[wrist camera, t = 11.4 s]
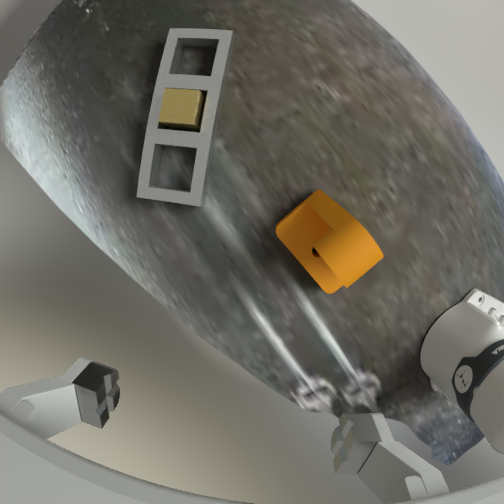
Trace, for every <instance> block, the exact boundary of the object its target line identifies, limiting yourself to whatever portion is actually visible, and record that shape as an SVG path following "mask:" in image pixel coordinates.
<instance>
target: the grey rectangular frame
mask: <svg viewBox="0 0 504 504" xmlns="http://www.w3.org/2000/svg"><path fill="white" fill-rule="evenodd" d="M234 44H235V37H234V33H233V31H229V30H214V29H170V30H169V34H168V37H167V41H166V44H165V48H164V52H163V56H162V60H161V64H160V68H159V72H158V76H157V80H156V85H155V89H154V94H153V98H152V103H151V108H150V113H149V118H148V124H147V129H146V135H145V141H144V147H143V153H142V159H141V166H140V173H139V181H138V189H137V197H138V198H146V199H153V200H160V201H167V202H174V203H180V204H187V205H193V206H203V205H205V202H206V195H207V189H208V182H209V176H210V170H211V164H212V158H213V152H214V146H215V140H216V134H217V129H218V123H219V118H220V113H221V107H222V102H223V97H224V92H225V87H226V82H227V77H228V72H229V67H230V62H231V58H232V53H233V49H234ZM184 46H188V47H210V48H217V51H216V55H215V60H214V64H213V69H212V74H211V76H198V75H181V74H177V72H178V68H179V64H180V60H181V55H182V51H183V48H184ZM165 88H171V89H189V90H199V91H200V92H201V93H202V94H203V96H207V98H206V103H205V108H204V113H203V118H202V124H201V129H200V133H198V132H189V131H178V130H167V129H166V125H164V124H162V123H160V122H158V121H159V116H160V110H161V105H162V100H163V96H164V91H165ZM163 146H169V147H179V148H188V149H197V152H196V158H195V164H194V171H193V177H192V184H191V191H188V190H181V189H174V188H167V187H159V186H157V181H158V174H159V167H160V161H161V154H162V148H163Z"/></svg>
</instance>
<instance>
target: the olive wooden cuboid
mask: <svg viewBox="0 0 504 504" xmlns="http://www.w3.org/2000/svg"><path fill="white" fill-rule="evenodd" d="M205 103H206V98H205V97H204V96H203V94H202V93H201V92H200V91H199V90H189V89H171V88H165V91H164V96H163V100H162V105H161V110H160V116H159V121H158V122H160V123H162V124H164V125H166V126H168V127H170V128H178V129H188V130H198V131H200V129H201V124H202V118H203V113H204V108H205Z"/></svg>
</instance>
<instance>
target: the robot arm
mask: <svg viewBox="0 0 504 504" xmlns="http://www.w3.org/2000/svg"><path fill="white" fill-rule="evenodd" d="M479 298H480V299H479ZM420 359H421V366H422V368H423V370H424V372H425V373H426V374H427V375H428V376H429V378H430V383H431V387H432V389H433V390H434V391H441V392H442V393H443V394H444V395H445V396H446V397H447V399H448V400H449V401H450V402H451V403H452V404H453V405H454V406H455V407H460V408H461V410H462V412H463V413H464V415H465V416H467V417H468V418H469V419H470V420H471V421H473V422H475V423H476V424H477V426H478V427H479V429H480V430H481V431H482V433H483V434H484V436H485V437H486V438H487V440H488V442H489V443H490V444H491V446H492V447H493V449H494V450H496V451H497V452H499V453H502V454H504V303H503V302H501V301H499V300H498V299H496V298H494V297H492V296H490V295H488V294H486V293H484V292H482V291H480V290H478V289H473V290H471V291H470V292H469V293H468V294H467V296H466V297H465V298H464V299H463V300H462V301H461V302H460V303H458V304H457V305H455V306H453V307H452V308H450V309H449V310H447V311H446V312H445V313H444V314H443V315H441V316H440V317H439V318H438V320H437V321H436V322H435V323H434V324H433V326H432V327H431V329H430V330H429V332H428V334H427V336H426V338H425V340H424V343H423V346H422V349H421V357H420ZM118 379H119V374H118V371H117V370H116V369H114V368H111V367H108V366H106V365H103V364H100V363H98V362H95V361H91V360H89V359H87V358H84V357H81V358H79V359H78V360H77V361H76V362H75V363H74V364H73V365H72V366H71V367H70V368H69V369H68V370H67V371H66V372H65V373H64V374H63V375H62V376H61V377H60V378H58V377H53V378H48V379H45V380H40V381H36V382H31V383H27V384H23V385H18V386H14V387H9V388H6V389H4V391H2V392H1V393H0V504H253V503H245V502H238V501H231V500H225V499H219V498H214V497H208V496H203V495H198V494H194V493H189V492H185V491H181V490H177V489H173V488H169V487H166V486H162V485H158V484H155V483H152V482H148V481H145V480H141V479H139V478H136V477H133V476H130V475H127V474H124V473H121V472H119V471H116V470H113V469H111V468H108V467H105V466H103V465H100V464H98V463H96V462H93V461H91V460H88V459H86V458H84V457H82V456H79V455H77V454H75V453H73V452H71V451H69V450H66V449H64V448H62V447H60V446H58V445H56V444H54V443H52V442H50V441H49V440H47V438H49V437H52V436H54V435H56V434H58V433H60V432H62V431H64V430H67V429H69V428H71V427H73V426H75V425H77V424H79V423H81V422H82V421H83V422H85V423H88V424H90V425H93V426H96V427H98V428H101V429H102V428H103V426H104V425H105V423H106V422H107V420H108V419H109V412H111V411H114V410H115V408H116V406H117V404H118V401H119V397H120V388H119V386H118V385H117V383H116V382H117V381H118ZM339 422H340V426H338V427H337V428H335V430H334V432H333V434H332V439H331V450H332V452H333V453H334V454H335V455H336V456H335V458H334V460H333V462H334V467H335V473H337V474H357V475H358V476H359V478H360V479H361V480H362V481H363V482H364V483H365V484H366V485H367V486H368V488H370V490H371V491H372V492H373V493H374V494H375V495H376V496H377V497H378V498H379V499H380V501H381V502H382V503H383V504H504V476H502V477H500V478H496V479H494V480H491V481H488V482H485V483H482V484H478V485H475V486H471V487H468V488H464V489H461V490H457V491H453V492H450V491H449V489H448V487H447V485H446V483H445V480H444V478H443V476H442V474H441V472H440V471H439V470H438V469H436V468H435V467H433V466H432V465H430V464H429V463H427V462H426V461H425V460H423V459H422V458H420V457H419V456H418V455H416V454H415V453H413V452H412V451H410V450H409V449H408V448H406V447H405V446H404V445H402V444H401V443H399V442H398V441H397V442H395V441H394V439H393V437H392V434H391V432H390V429H389V427H388V425H387V423H386V420H385V418H384V415H383V414H382V413H369V414H368V413H345V412H344V413H343V414H342V415H341V417H340V419H339Z"/></svg>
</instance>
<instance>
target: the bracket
mask: <svg viewBox="0 0 504 504" xmlns="http://www.w3.org/2000/svg"><path fill="white" fill-rule="evenodd" d="M275 229H276V234H277V236H278V238H279V239H280V240H281V241H282V242H283V243H284V245H285V246H286V247H287V248H288V249H289V250H290V252H291V253H292V254H293V255H294V256H295V257H296V259H297V260H298V261H299V262H300V263H301V264H302V266H303V267H304V268H305V269H306V270H307V271H308V273H309V274H310V275H311V276H312V277H313V279H314V280H315V281H316V282H317V283H318V284H319V286H320V287H321V288H322V289H323V290H324V291H325V292H326V293H334V292H335V291H336V290H338V289H339V288H340V287H341V286H343V285H344V286H345V287H346V288H347V287H349V286H350V285H351V284H352V283H354V282H355V281H356V280H357V279H358V278H360V277H361V276H362V275H363V274H364V273H366V272H367V271H368V270H369V269H370V268H371V267H373V266H374V265H375V264H376V263H377V262H378V261H380V260H381V259H382V258H383V257H384V256H383V253H382V251H381V250H380V248H379V246H378V245H377V243H376V242H375V241H374V239H373V238H372V237H371V235H370V234H369V233H368V232H367V230H366V229H365V228H364V227H363V226H362V225H361V224H360V223H359V222H358V221H357V220H356V219H355V218H354V217H353V216H352V215H351V214H349V213H348V212H347V211H346V210H345V209H343V208H342V207H341V206H340V205H339V204H337V203H336V202H335V201H334V200H332V199H331V198H330V197H329V196H327V195H326V194H325V193H324V192H323V191H321V190H319V189H317V190H316V191H315V192H314V193H313V194H311V195H310V196H309V197H308V198H307V199H306V200H304V201H303V202H302V203H301V204H300V205H298V206H297V207H296V208H295V209H294V210H293V211H291V212H290V213H289V214H288V215H287V216H285V217H284V218H283V219H282V220H281V221H280V222H278V223H277V225H276V228H275ZM313 247H314V248H315V249H316V251H317V252H312V249H313Z"/></svg>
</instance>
